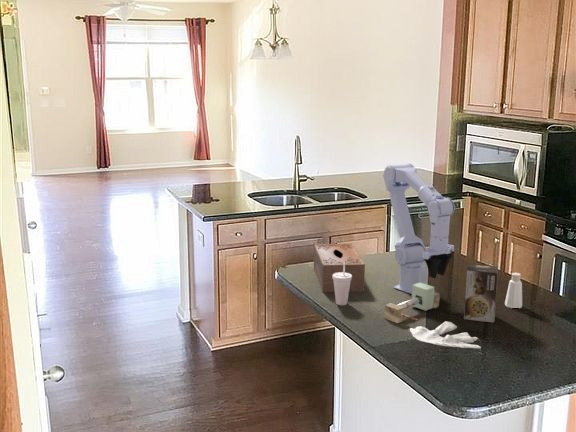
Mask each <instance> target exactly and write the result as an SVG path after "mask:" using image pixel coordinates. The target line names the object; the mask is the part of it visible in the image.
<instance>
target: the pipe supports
mask: <svg viewBox="0 0 576 432" xmlns="http://www.w3.org/2000/svg"><path fill="white" fill-rule="evenodd" d="M397 305H398V304H394V303H392V302H389V303H387V304H384V319H385V320H388V321H390V322H393V323H396V324H399V323H401V322H403V320H404V317H405V318H409V319H410V320H414V321H416V322H417V321H419V318H415V317H413V316H411V315H408V314H405V313H404V309H403V307H400V306H397ZM439 306H440V293H439V292H436V291H434V304H433V308H432V309H436V308H439ZM390 307H391V308H392V309H394V310H391V308H390ZM389 309H390V310H389ZM393 311H394V313H393ZM391 312H392V313H393V314H391Z"/></svg>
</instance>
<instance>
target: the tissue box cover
mask: <svg viewBox="0 0 576 432" xmlns="http://www.w3.org/2000/svg"><path fill="white" fill-rule="evenodd" d="M343 262H345V273H349V274H351V275H352V279H351V282H350V288H349V292H364V291H365V269H366V264H365V262H364V261H363V259H362V258H361V256H360V255H359V253H358V252H357V250H356V248H355V246H354V245H353V244H352V243H317V244H316V243H314V244H313V270H314V272H315V275H316V278H317V282H318V283H319V286H320V288H321V291H322V293H335V290H334V280H333V278H332V277H333V274H334V273H338V272H343Z"/></svg>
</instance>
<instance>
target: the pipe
mask: <svg viewBox="0 0 576 432" xmlns="http://www.w3.org/2000/svg"><path fill="white" fill-rule="evenodd" d="M421 302H422V297H421V296H419V297H416V298H413V299H412V298H411V299H408V300H406V301H402V302H401V303H399V304H398V303H397V304H396V305H397V306H400V307H403V310H407V309H408V308H410V307H414V306H413V305H416V304H418V303H421ZM390 308H391V307H390ZM389 310H390V309H389ZM391 310H394V309H392V308H391ZM393 313H394V311H393ZM393 313H392V312H391V314H393Z"/></svg>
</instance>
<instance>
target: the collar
mask: <svg viewBox="0 0 576 432" xmlns="http://www.w3.org/2000/svg"><path fill="white" fill-rule="evenodd" d="M435 290H436V289H435V286H432V285H429V284H427V283H426V284H424V283H417V284H414V285H412V294H411V299H413V298H416V297H419V296H421V297H422V302H421V303H418V304H416V305H413V306H412V307H414V308H417V309H420V310H422V311H425V312H427V311H428V310H432V309H434V308H433V304H434V292H435Z"/></svg>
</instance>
